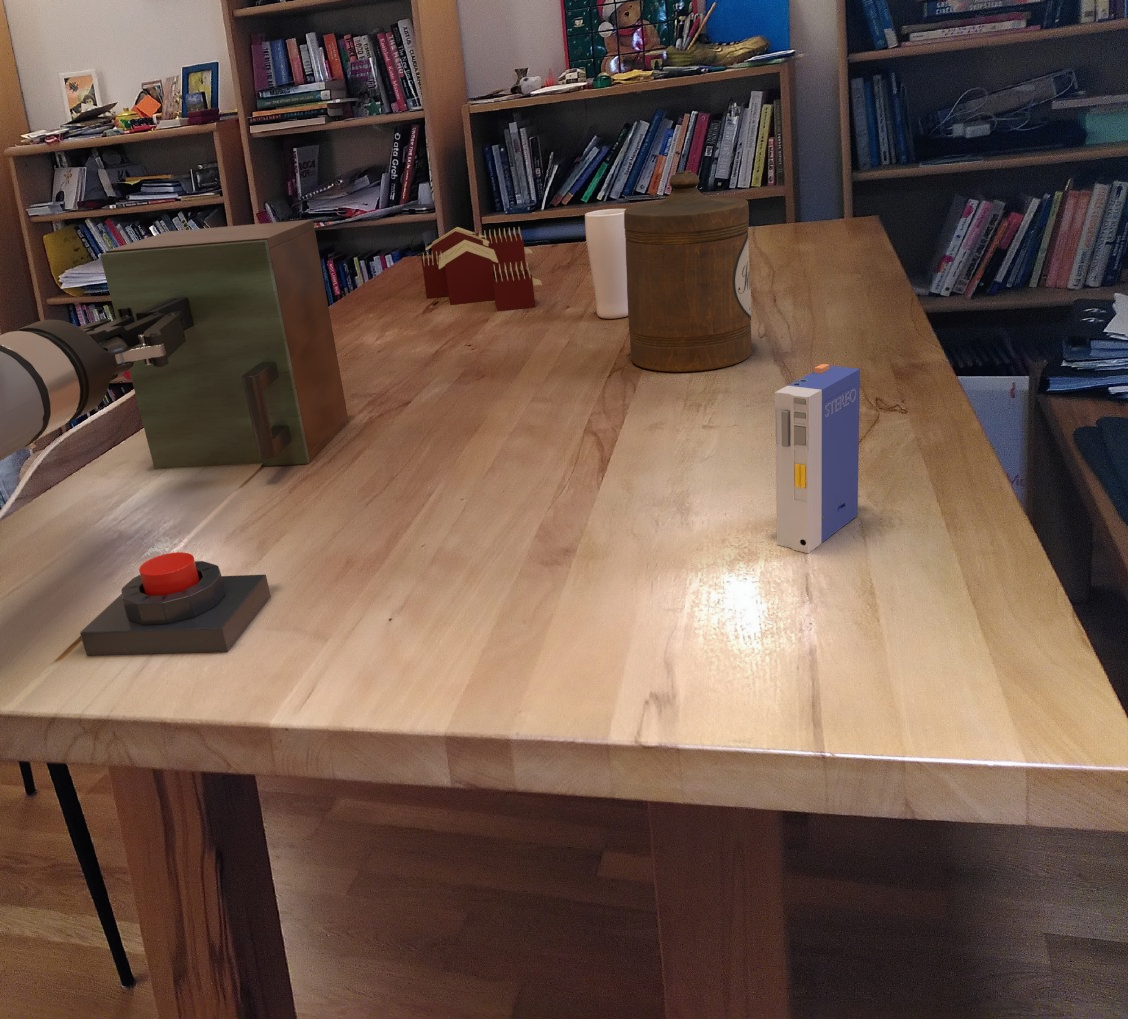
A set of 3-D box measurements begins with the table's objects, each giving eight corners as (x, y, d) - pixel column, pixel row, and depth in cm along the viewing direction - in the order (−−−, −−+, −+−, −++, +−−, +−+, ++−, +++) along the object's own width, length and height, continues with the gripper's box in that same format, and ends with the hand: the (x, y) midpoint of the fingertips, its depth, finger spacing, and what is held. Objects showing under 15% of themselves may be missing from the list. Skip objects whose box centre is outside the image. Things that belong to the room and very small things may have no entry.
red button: (135, 599, 70) (129, 575, 70) (159, 575, 74) (154, 553, 73) (185, 597, 70) (179, 574, 69) (208, 573, 73) (202, 551, 73)
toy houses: (428, 274, 206) (420, 222, 202) (531, 263, 207) (525, 211, 203) (425, 320, 164) (416, 255, 161) (554, 306, 166) (548, 241, 162)
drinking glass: (647, 314, 154) (640, 209, 148) (610, 323, 151) (602, 216, 145) (619, 308, 159) (612, 207, 154) (583, 317, 156) (574, 214, 150)
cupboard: (310, 462, 104) (267, 237, 96) (160, 470, 106) (104, 251, 98) (348, 422, 116) (313, 219, 108) (212, 430, 118) (167, 231, 110)
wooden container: (774, 358, 125) (772, 165, 116) (662, 380, 120) (650, 181, 112) (716, 336, 138) (709, 161, 129) (612, 354, 133) (599, 175, 125)
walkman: (824, 509, 82) (825, 360, 77) (858, 516, 80) (860, 363, 75) (773, 546, 76) (771, 388, 72) (807, 554, 75) (807, 392, 70)
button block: (86, 657, 70) (72, 611, 69) (142, 601, 77) (131, 559, 76) (227, 653, 69) (216, 606, 67) (271, 597, 76) (261, 553, 75)
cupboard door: (290, 483, 98) (243, 249, 90) (130, 492, 100) (69, 264, 92) (310, 461, 104) (267, 239, 96) (158, 469, 106) (103, 253, 98)
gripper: (-31, 433, 79) (126, 355, 100) (133, 423, 77) (257, 346, 99) (-63, 336, 76) (106, 277, 98) (106, 323, 74) (240, 266, 96)
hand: (181, 312), depth 98 cm, fingers closed
